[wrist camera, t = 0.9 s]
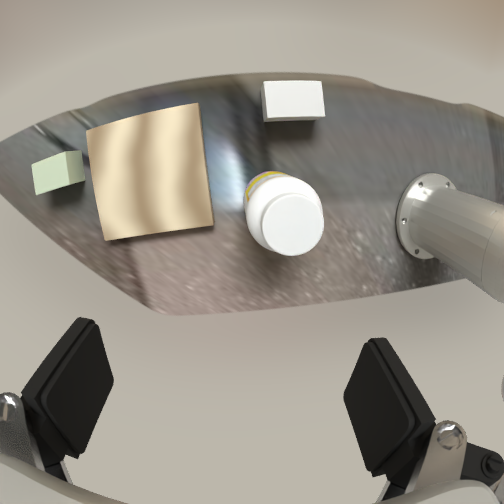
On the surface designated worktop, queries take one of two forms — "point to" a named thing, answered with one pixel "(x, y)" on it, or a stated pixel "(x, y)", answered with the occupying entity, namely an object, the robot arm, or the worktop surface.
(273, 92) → the white block
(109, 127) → the birch board
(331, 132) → the worktop surface
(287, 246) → the supplement bottle
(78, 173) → the green block
